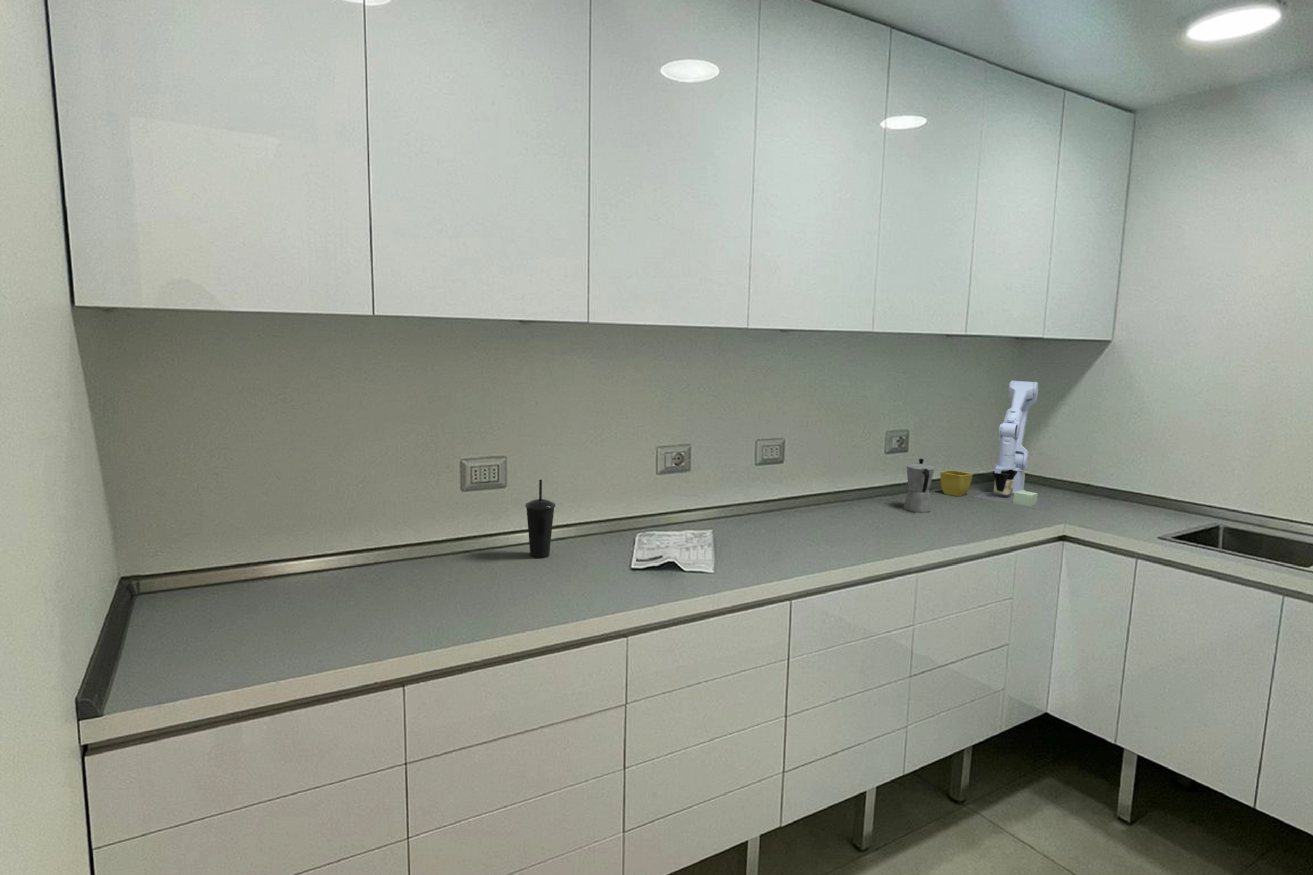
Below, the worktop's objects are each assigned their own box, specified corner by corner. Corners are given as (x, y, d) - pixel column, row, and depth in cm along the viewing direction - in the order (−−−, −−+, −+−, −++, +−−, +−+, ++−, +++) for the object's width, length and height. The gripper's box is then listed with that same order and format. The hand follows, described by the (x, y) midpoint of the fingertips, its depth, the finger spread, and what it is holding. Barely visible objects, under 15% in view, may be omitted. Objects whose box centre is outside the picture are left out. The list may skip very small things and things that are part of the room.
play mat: (989, 493, 282) (989, 491, 282) (1055, 505, 265) (1055, 503, 265) (972, 498, 272) (972, 496, 272) (1039, 511, 255) (1040, 509, 255)
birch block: (998, 490, 277) (1000, 477, 277) (1012, 493, 274) (1013, 480, 273) (993, 492, 274) (994, 479, 273) (1006, 494, 270) (1008, 481, 270)
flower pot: (949, 492, 282) (951, 469, 280) (971, 496, 275) (973, 473, 274) (937, 495, 276) (939, 471, 275) (959, 499, 269) (961, 475, 268)
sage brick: (1019, 500, 268) (1020, 490, 267) (1036, 504, 263) (1037, 493, 263) (1012, 503, 264) (1014, 492, 263) (1030, 506, 259) (1031, 495, 259)
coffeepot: (898, 504, 258) (902, 454, 256) (925, 505, 258) (929, 455, 255) (909, 514, 243) (914, 462, 240) (938, 516, 242) (943, 463, 240)
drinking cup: (560, 554, 188) (561, 479, 185) (541, 562, 182) (542, 484, 179) (538, 549, 192) (538, 475, 189) (518, 556, 186) (519, 480, 183)
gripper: (1003, 451, 279) (1000, 485, 281) (987, 454, 270) (984, 490, 272) (1022, 453, 274) (1019, 488, 276) (1007, 457, 265) (1003, 493, 267)
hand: (1003, 489), depth 274 cm, fingers closed on birch block, 5 cm apart
